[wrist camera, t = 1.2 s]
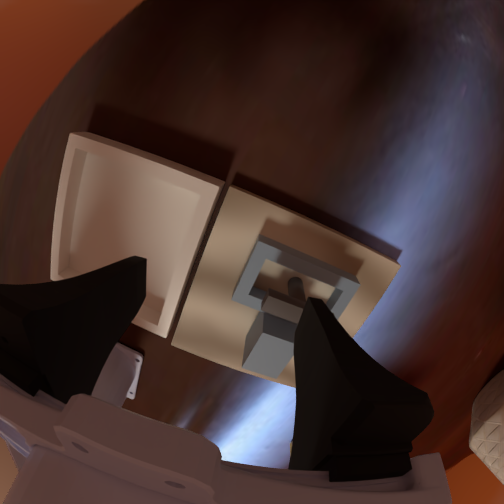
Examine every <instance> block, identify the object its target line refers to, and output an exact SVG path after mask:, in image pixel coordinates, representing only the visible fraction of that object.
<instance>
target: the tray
mask: <svg viewBox="0 0 504 504" xmlns="http://www.w3.org/2000/svg"><path fill="white" fill-rule="evenodd" d="M224 184H225V181H222V180H220V179H217V178H215V177H212V176H210V175H207V174H205V173H202V172H200V171H197V170H195V169H192V168H189V167H187V166H184V165H182V164H179V163H176V162H174V161H171V160H168V159H166V158H163V157H160V156H157V155H155V154H152V153H149V152H146V151H143V150H141V149H138V148H135V147H132V146H129V145H126V144H123V143H120V142H117V141H114V140H111V139H108V138H105V137H102V136H99V135H96V134H93V133H90V132H75V133H70V135H69V139H68V143H67V148H66V152H65V156H64V161H63V166H62V171H61V176H60V182H59V188H58V194H57V201H56V208H55V216H54V226H53V237H52V252H51V279H52V280H53V281H58V280H63V279H67V278H71V277H75V276H79V275H82V274H85V273H88V272H91V271H93V270H96V269H99V268H102V267H105V266H107V265H110V264H112V263H115V262H117V261H120V260H123V259H125V258H128V257H131V256H139V257H143V258H146V259H147V273H146V298H145V300H144V302H143V304H142V306H141V308H140V310H139V312H138V313H137V315H136V316H135V318H134V319H133V321H132V322H131V323H133V324H135V325H138V326H140V327H142V328H144V329H146V330H148V331H151V332H153V333H155V334H157V335H160V336H162V337H164V338H166V337H167V335H168V333H169V331H170V329H171V327H172V325H173V323H174V320H175V317H176V314H177V311H178V308H179V305H180V302H181V299H182V297H183V294H184V291H185V288H186V285H187V282H188V279H189V276H190V274H191V271H192V268H193V265H194V262H195V260H196V257H197V254H198V251H199V249H200V246H201V243H202V241H203V238H204V235H205V233H206V230H207V227H208V225H209V222H210V220H211V217H212V214H213V212H214V209H215V207H216V204H217V202H218V199H219V197H220V194H221V192H222V189H223V187H224Z"/></svg>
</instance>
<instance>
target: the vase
mask: <svg viewBox="0 0 504 504" xmlns="http://www.w3.org/2000/svg"><path fill="white" fill-rule="evenodd" d="M469 446H470V448H471V450H472V451H473V452H474V453H475V454H476V455H477V456H478V457H479V458H480V459H481V460H482V461H483V463H484V464H485V465H486V466H487V467H488V468H489V469H490V470H491V471H492V472H493V473H494V474H495V476H496V477H497V478H498V479H499V480H500V481H501V482H502V483H503V485H504V369H503V370H502V371H500V372H499V373H498V374H497V375H495V376H494V377H493V378H492V379H491V380H490V381H489V382H488V383H487V384H486V385H485V386H484V387H483V388H482V390H481V391H480V392H479V394H478V395H477V397H476V398H475V400H474V402H473V406H472V419H471V429H470V438H469Z"/></svg>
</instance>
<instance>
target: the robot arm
mask: <svg viewBox="0 0 504 504" xmlns="http://www.w3.org/2000/svg"><path fill="white" fill-rule="evenodd" d="M146 273H147V259H146V258H143V257H139V256H131V257H128V258H125V259H123V260H120V261H117V262H115V263H112V264H110V265H107V266H105V267H102V268H99V269H96V270H93V271H91V272H88V273H85V274H82V275H79V276H75V277H71V278H67V279H63V280H58V281H52V282H46V283H39V284H26V285H9V284H0V437H1V438H3V439H4V440H5V441H6V444H7V447H8V450H9V452H10V454H11V456H12V459H13V460H14V463H15V465H16V467H17V469H18V472H19V473H18V475H17V477H16V478H15V480H14V482H13V484H12V487H11V488H10V490H9V492H8V494H7V496H6V498H5V500H4V502H3V504H452V499H451V494H450V490H449V486H448V482H447V478H446V474H445V470H444V467H443V463H442V459H441V456H440V453H432V454H427V455H420V456H416V457H414V458H412V459H410V457H409V453H408V452H411V451H412V449H413V447H412V444H411V441H412V440H413V439H415V438H416V437H417V436H418V435H419V434H420V433H421V432H422V431H423V430H424V429H425V428H426V427H427V426H428V425H429V424H430V422H431V420H432V418H433V416H434V410H433V407H432V404H431V402H430V399H429V397H428V394H427V393H426V392H424V391H422V390H420V389H418V388H416V387H414V386H412V385H410V384H408V383H406V382H405V381H403V380H402V379H400V378H398V377H397V376H395V375H394V374H392V373H391V372H389V371H388V370H387V369H385V368H384V367H383V366H381V365H380V364H379V363H378V362H376V361H375V360H374V359H373V358H372V357H371V356H369V355H368V354H367V353H366V352H365V351H364V350H363V349H362V348H361V347H360V346H359V345H358V344H357V343H356V342H355V341H354V339H353V338H352V337H351V336H350V335H349V334H348V333H347V331H346V330H345V329H344V328H343V327H342V325H341V324H340V323H339V321H338V320H337V319H336V317H335V316H334V315H333V313H332V312H331V311H330V309H329V308H328V307H327V305H326V304H325V303H324V301H323V300H322V299H318V298H313V297H309V296H308V298H307V301H306V304H305V306H304V309H303V312H302V315H301V317H300V320H299V322H298V325H297V328H296V330H295V335H294V350H293V353H294V368H295V383H296V411H295V424H294V434H293V442H292V449H291V457H290V462H289V468H288V469H278V468H268V467H260V466H253V465H246V464H240V463H234V462H229V461H223V460H221V458H222V456H221V453H220V450H219V448H218V447H217V446H216V444H214V443H213V442H211V441H210V440H208V439H207V438H205V437H204V436H202V435H199V434H197V433H194V432H191V431H189V430H186V429H183V428H180V427H176V426H173V425H170V424H166V423H163V422H160V421H157V420H154V419H151V418H148V417H145V416H142V415H139V414H137V413H134V412H131V411H129V410H126V409H123V408H121V407H122V405H123V403H124V401H125V399H126V397H128V398H130V399H134V398H135V394H136V389H137V385H138V380H139V375H140V371H141V366H142V362H143V355H142V354H141V353H139V352H137V351H135V350H133V349H130V348H128V347H126V346H124V345H122V344H120V343H118V341H119V339H120V338H121V336H122V335H123V333H124V332H125V331H126V329H127V328H128V326H129V325H130V324H131V322H132V321H133V319H134V318H135V316H136V315H137V313H138V312H139V310H140V308H141V306H142V304H143V302H144V300H145V298H146Z"/></svg>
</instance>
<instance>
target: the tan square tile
mask: <svg viewBox="0 0 504 504" xmlns="http://www.w3.org/2000/svg"><path fill="white" fill-rule="evenodd" d="M259 234H261V235H263V236H266V237H268V238H270V239H273V240H275V241H277V242H280V243H282V244H284V245H287V246H289V247H291V248H294V249H296V250H298V251H300V252H303V253H305V254H307V255H310V256H312V257H314V258H317V259H319V260H321V261H323V262H326V263H328V264H330V265H332V266H335V267H337V268H339V269H342V270H344V271H346V272H348V273H351V274H353V275H355V276H356V277H357V279H358V281H359V283H360V284H361V285H360V287H359V288H358V290H357V291H356V293H355V295H354V296H353V298H352V299H351V301H350V302H349V304H348V305H347V307H346V308H345V310H344V311H343V313H342V314H341V316H340V317H339V319H338V321H339V323H340V324H341V325H342V327H343V328H344V329H345V330H346V331H347V333H348V334H349V335H350V336H351V337H352V338H353V337H354V335H355V334H356V333H357V331H358V330H359V329H360V327H361V326H362V324H363V323H364V322H365V320H366V319H367V317H368V316H369V315H370V313H371V312H372V310H373V309H374V307H375V306H376V304H377V303H378V301H379V300H380V298H381V297H382V295H383V294H384V292H385V291H386V289H387V288H388V286H389V285H390V283H391V281H392V280H393V278H394V277H395V275H396V273H397V272H398V270H399V269H400V267H401V265H400V264H399V263H398V262H397V261H396V260H394V259H392V258H390V257H388V256H386V255H384V254H382V253H380V252H378V251H376V250H374V249H372V248H370V247H368V246H366V245H364V244H362V243H360V242H358V241H356V240H354V239H352V238H350V237H348V236H346V235H344V234H342V233H340V232H338V231H336V230H334V229H332V228H329V227H327V226H325V225H323V224H321V223H319V222H317V221H315V220H312V219H310V218H308V217H306V216H304V215H302V214H299V213H297V212H295V211H293V210H290V209H288V208H286V207H284V206H281V205H279V204H277V203H275V202H272V201H270V200H268V199H265V198H263V197H261V196H258V195H256V194H254V193H251V192H249V191H247V190H244V189H242V188H240V187H237V186H235V185H232V184H231V186H230V187H229V189H228V192H227V194H226V197H225V199H224V202H223V204H222V207H221V209H220V212H219V214H218V217H217V219H216V222H215V224H214V227H213V230H212V232H211V235H210V237H209V240H208V243H207V245H206V248H205V250H204V253H203V256H202V258H201V261H200V264H199V266H198V269H197V272H196V275H195V277H194V280H193V283H192V286H191V288H190V291H189V294H188V297H187V300H186V302H185V305H184V308H183V311H182V314H181V317H180V320H179V323H178V325H177V328H176V331H175V334H174V337H173V340H172V343H171V345H173V346H176V347H178V348H180V349H183V350H185V351H188V352H190V353H193V354H195V355H198V356H200V357H203V358H206V359H208V360H211V361H214V362H216V363H219V364H222V365H225V366H227V367H230V368H233V369H236V370H239V371H242V372H245V373H248V374H251V375H254V376H257V377H261V378H264V379H267V380H270V381H274V382H277V383H280V384H284V385H287V386H291V387H295V388H296V383H295V368H294V356H293V357H292V358H291V360H290V361H289V362H288V364H287V365H286V367H285V368H284V369H283V371H282V372H281V373H280V375H279V376H278V377H277V379H275V378H271V377H268V376H265V375H262V374H259V373H256V372H252V371H249V370H246V369H243V368H242V361H243V353H244V346H245V339H246V335H247V333H248V332H249V330H250V328H251V326H252V324H253V323H254V321H255V319H256V317H257V315H258V313H259V311H258V310H255V309H253V308H250V307H248V306H245V305H243V304H240V303H237V302H235V301H232V300H231V299H232V295H233V291H234V288H235V286H236V284H237V282H238V279H239V277H240V275H241V273H242V271H243V269H244V266H245V264H246V262H247V260H248V258H249V255H250V253H251V251H252V249H253V247H254V245H255V242H256V240H257V238H258V236H259ZM253 286H254V287H256V288H259V289H261V290H264V291H266V294H265V296H264V298H263V300H262V302H261V310H262V311H265V312H267V313H270V314H272V315H275V316H278V317H281V318H283V319H286V320H289V321H291V322H294V323H297V324H298V322H299V320H300V317H301V315H302V312H303V309H304V306H305V304H306V301H307V298H308V296H309V297H313V298H318V299H322V300H323V301H324V303H325V304H326V303H327V301H328V299H329V298H330V296H331V295H332V293H333V291H334V290H335V287H333V286H330V285H328V284H325V283H323V282H321V281H318V280H316V279H313V278H311V277H309V276H306V275H304V274H301V273H299V272H297V271H294V270H292V269H289V268H287V267H285V266H282V265H280V264H277V263H275V262H273V261H270V260H268V259H266V260H265V262H264V264H263V266H262V268H261V270H260V272H259V274H258V276H257V278H256V280H255V282H254V284H253ZM333 315H334V313H333ZM334 316H335V315H334Z"/></svg>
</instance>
